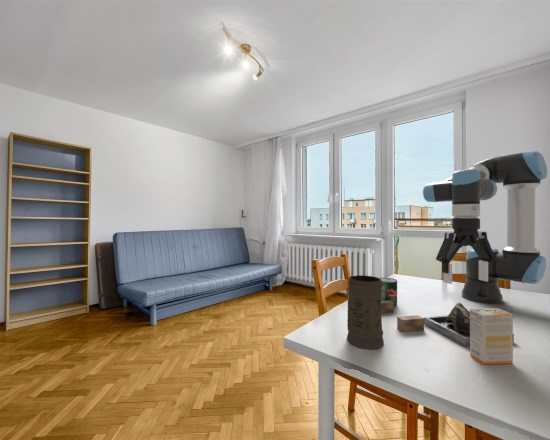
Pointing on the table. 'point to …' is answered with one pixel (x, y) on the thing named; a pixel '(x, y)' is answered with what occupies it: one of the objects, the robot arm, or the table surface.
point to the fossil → (459, 318)
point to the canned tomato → (389, 290)
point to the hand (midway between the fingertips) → (465, 281)
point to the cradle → (403, 318)
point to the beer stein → (365, 312)
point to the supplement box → (491, 336)
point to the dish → (448, 329)
